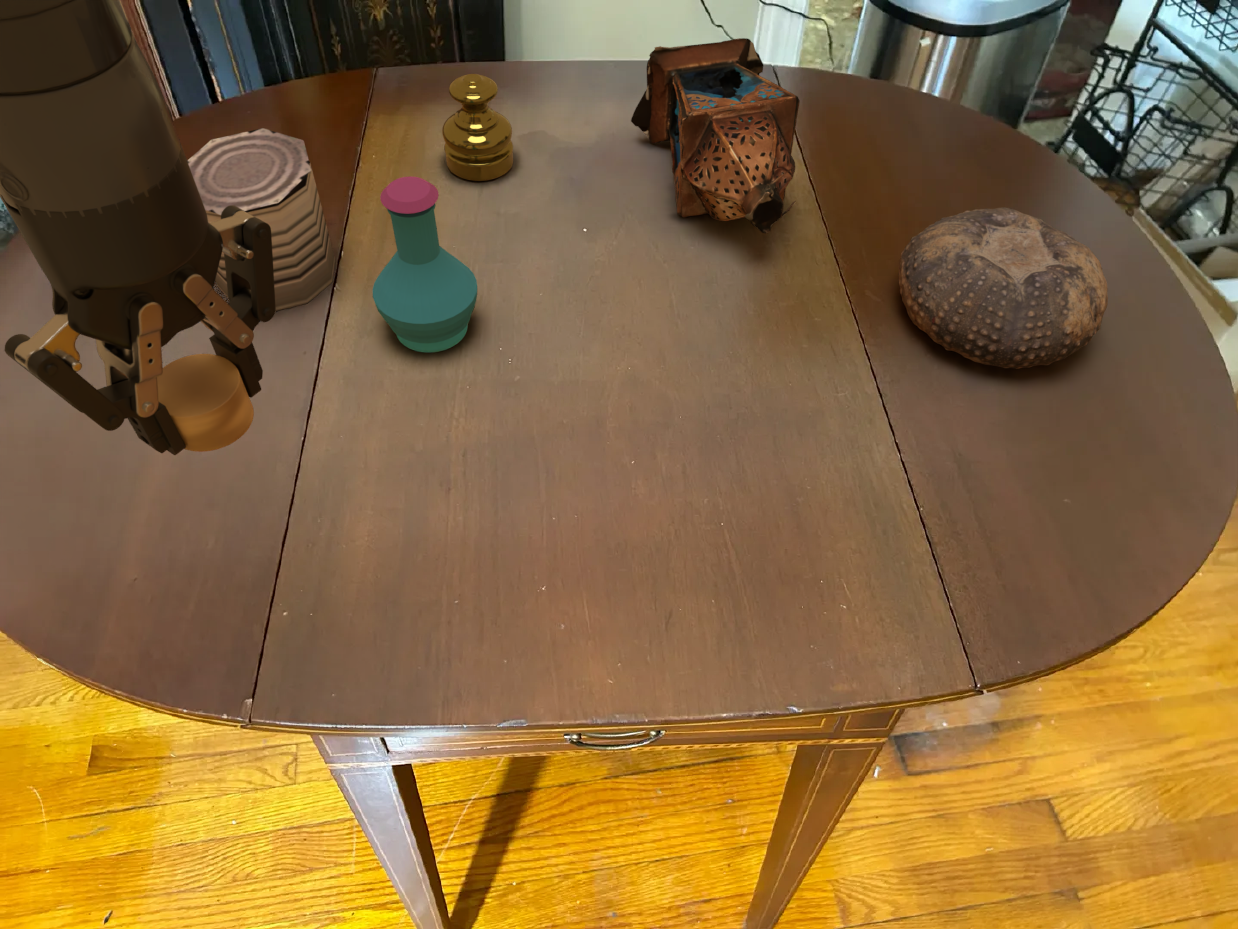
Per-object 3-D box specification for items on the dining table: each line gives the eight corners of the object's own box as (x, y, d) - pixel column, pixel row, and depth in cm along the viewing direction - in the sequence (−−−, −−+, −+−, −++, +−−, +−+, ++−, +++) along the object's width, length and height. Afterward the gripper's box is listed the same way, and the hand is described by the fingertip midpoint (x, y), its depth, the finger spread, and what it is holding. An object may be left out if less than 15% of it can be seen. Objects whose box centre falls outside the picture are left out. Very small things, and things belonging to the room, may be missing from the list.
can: (350, 295, 87) (322, 187, 77) (227, 325, 84) (183, 217, 74) (322, 225, 93) (294, 118, 84) (207, 251, 90) (164, 142, 80)
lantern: (676, 181, 111) (748, 309, 95) (592, 93, 99) (658, 221, 84) (784, 86, 105) (880, 205, 89) (708, -19, 94) (802, 96, 78)
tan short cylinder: (205, 465, 50) (187, 430, 48) (148, 426, 52) (128, 390, 49) (271, 413, 53) (258, 377, 50) (216, 377, 54) (200, 341, 52)
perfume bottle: (363, 348, 82) (328, 209, 71) (407, 285, 88) (381, 146, 76) (457, 372, 81) (437, 235, 69) (496, 306, 86) (484, 169, 75)
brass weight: (498, 189, 98) (491, 102, 90) (435, 174, 99) (423, 88, 91) (523, 152, 102) (519, 67, 94) (462, 138, 104) (453, 53, 96)
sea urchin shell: (1065, 412, 80) (1095, 323, 73) (862, 355, 88) (869, 269, 81) (1118, 292, 90) (1148, 202, 82) (930, 250, 98) (942, 166, 91)
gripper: (166, 57, 44) (260, 321, 57) (-133, 198, 36) (56, 464, 49) (275, 111, 41) (346, 373, 55) (-21, 274, 34) (146, 532, 47)
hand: (208, 415), depth 52 cm, fingers closed on tan short cylinder, 4 cm apart
